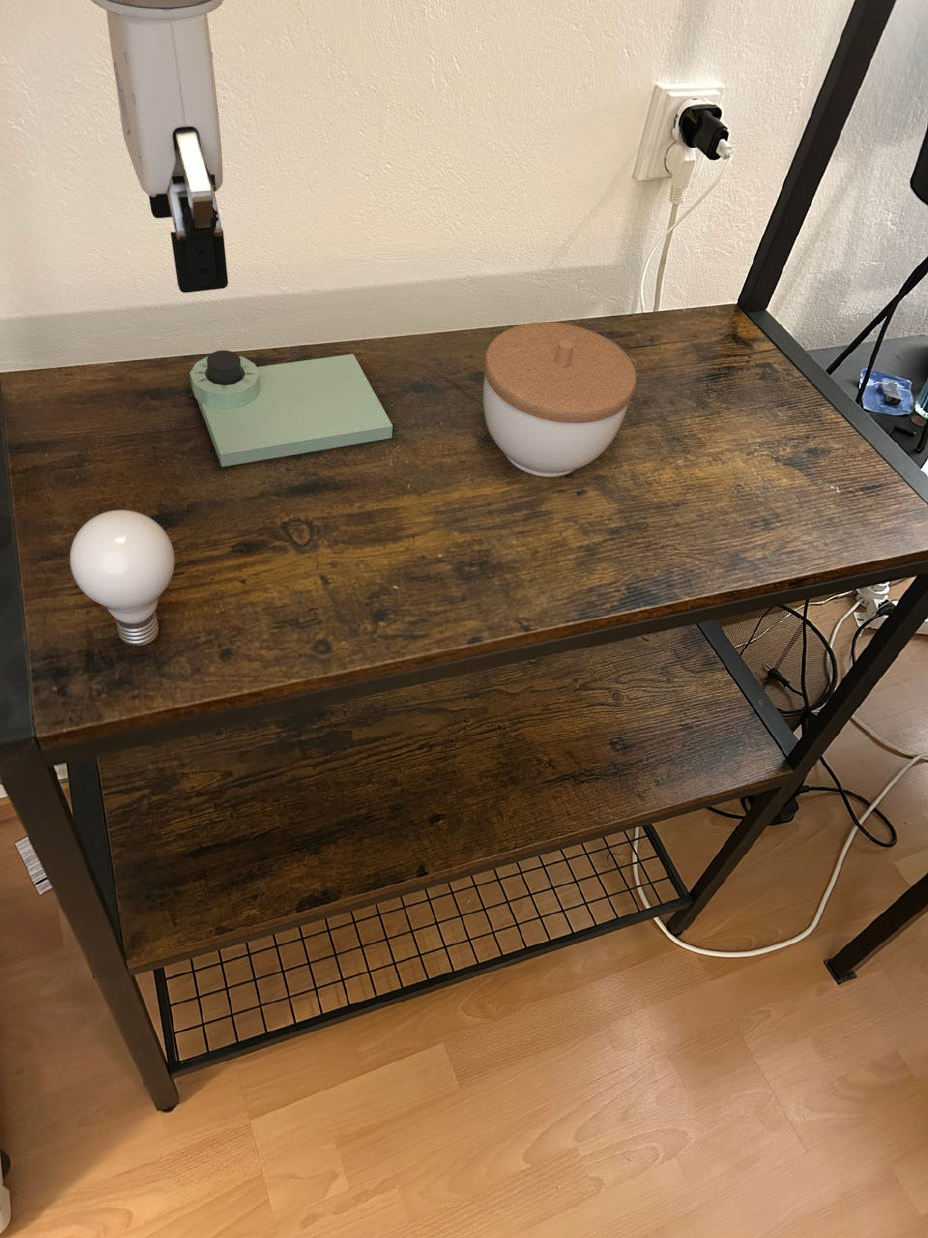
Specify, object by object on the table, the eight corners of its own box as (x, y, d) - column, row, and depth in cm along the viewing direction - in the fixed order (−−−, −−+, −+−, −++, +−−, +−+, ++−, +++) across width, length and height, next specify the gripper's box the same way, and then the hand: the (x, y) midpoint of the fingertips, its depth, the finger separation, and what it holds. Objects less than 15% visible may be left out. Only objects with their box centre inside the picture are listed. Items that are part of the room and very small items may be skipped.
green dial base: (217, 467, 80) (214, 439, 78) (188, 387, 87) (184, 358, 85) (392, 438, 85) (393, 410, 83) (351, 364, 92) (352, 336, 90)
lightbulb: (143, 589, 71) (119, 475, 63) (206, 633, 69) (190, 521, 61) (72, 640, 67) (37, 526, 59) (137, 688, 65) (110, 576, 57)
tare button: (212, 388, 83) (210, 371, 82) (205, 369, 84) (203, 352, 83) (245, 383, 84) (243, 366, 82) (237, 365, 85) (236, 348, 84)
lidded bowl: (454, 414, 89) (468, 306, 80) (580, 400, 92) (606, 295, 84) (499, 507, 81) (520, 398, 73) (635, 488, 85) (669, 382, 76)
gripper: (62, -85, 58) (113, 194, 71) (107, 28, 48) (156, 327, 61) (189, -85, 60) (215, 185, 73) (257, 23, 50) (273, 312, 63)
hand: (188, 249), depth 67 cm, fingers open, 9 cm apart
